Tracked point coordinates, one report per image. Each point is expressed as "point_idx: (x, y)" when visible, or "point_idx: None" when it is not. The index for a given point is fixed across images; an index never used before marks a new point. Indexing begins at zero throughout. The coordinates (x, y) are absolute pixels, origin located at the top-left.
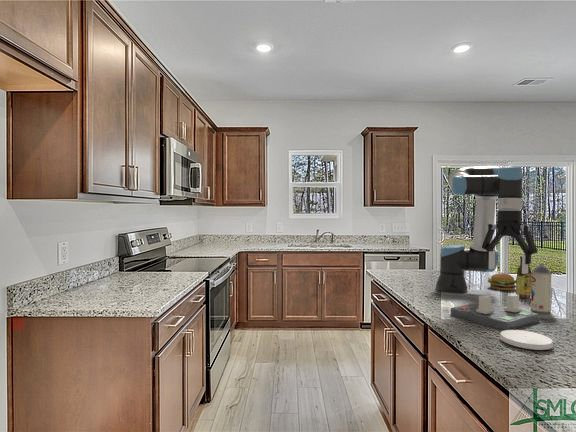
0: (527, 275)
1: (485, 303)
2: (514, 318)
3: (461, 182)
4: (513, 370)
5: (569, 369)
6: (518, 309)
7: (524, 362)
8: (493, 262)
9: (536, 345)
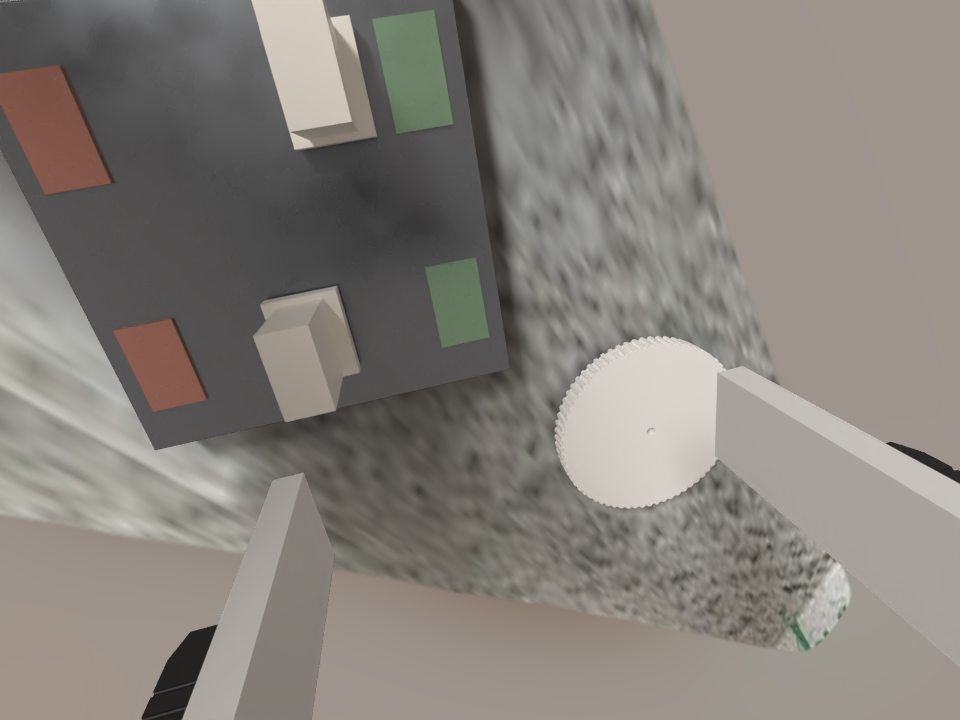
0: None
1: (338, 385)
2: (478, 271)
3: None
4: (727, 604)
5: None
6: (361, 70)
7: (717, 546)
8: (297, 570)
9: (711, 462)
